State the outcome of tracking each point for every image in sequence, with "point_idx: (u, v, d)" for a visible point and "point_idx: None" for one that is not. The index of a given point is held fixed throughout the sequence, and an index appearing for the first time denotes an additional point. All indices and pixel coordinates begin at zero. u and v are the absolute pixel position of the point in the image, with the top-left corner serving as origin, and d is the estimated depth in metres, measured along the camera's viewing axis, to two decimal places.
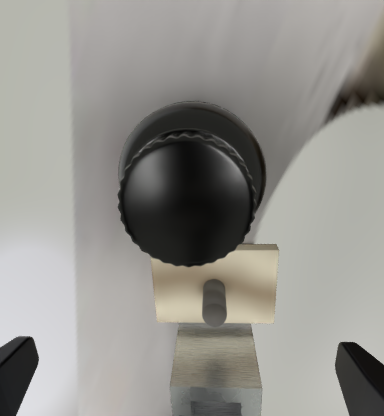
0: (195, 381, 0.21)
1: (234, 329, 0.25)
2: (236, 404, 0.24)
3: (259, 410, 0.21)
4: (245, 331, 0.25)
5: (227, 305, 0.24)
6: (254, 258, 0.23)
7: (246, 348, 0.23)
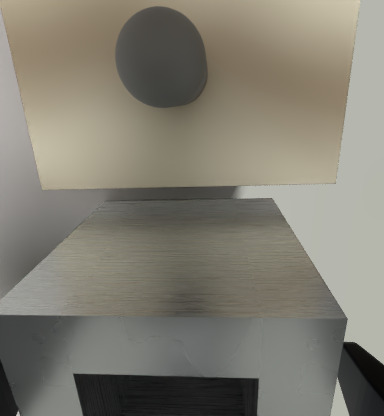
0: (88, 300, 0.06)
1: (233, 206, 0.10)
2: (239, 392, 0.09)
3: (325, 407, 0.06)
4: (261, 208, 0.10)
5: (215, 130, 0.09)
6: None
7: (268, 231, 0.08)
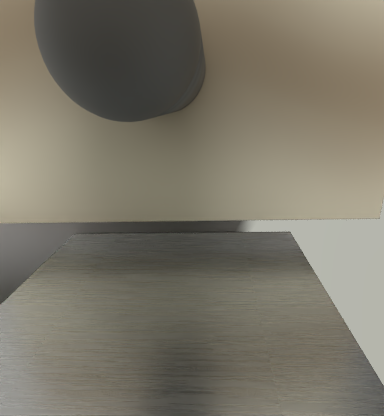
0: None
1: (240, 246, 0.08)
2: None
3: None
4: (278, 249, 0.07)
5: (215, 146, 0.07)
6: None
7: (293, 295, 0.06)
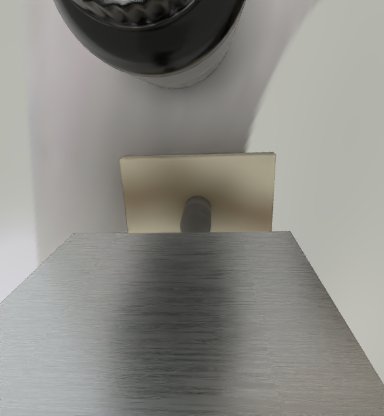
0: None
1: (240, 246, 0.08)
2: None
3: None
4: (278, 249, 0.07)
5: (214, 231, 0.20)
6: (246, 166, 0.18)
7: (293, 295, 0.06)
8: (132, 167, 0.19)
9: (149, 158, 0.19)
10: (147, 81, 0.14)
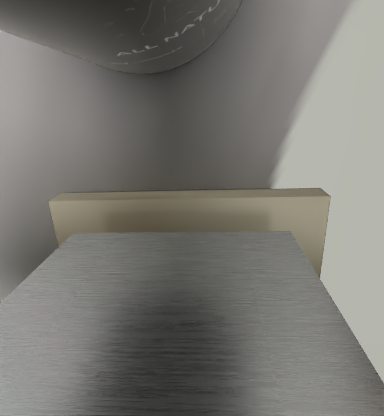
0: None
1: (240, 245, 0.08)
2: None
3: None
4: (278, 249, 0.07)
5: None
6: (274, 216, 0.10)
7: (293, 294, 0.06)
8: (72, 215, 0.11)
9: (101, 200, 0.11)
10: (52, 48, 0.05)
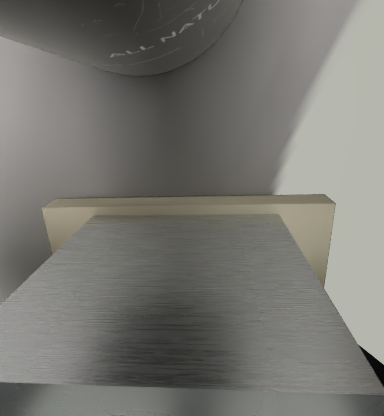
0: (57, 358, 0.04)
1: (236, 224, 0.09)
2: None
3: None
4: (267, 227, 0.09)
5: None
6: None
7: (277, 258, 0.07)
8: (66, 222, 0.10)
9: (97, 207, 0.10)
10: (39, 48, 0.05)
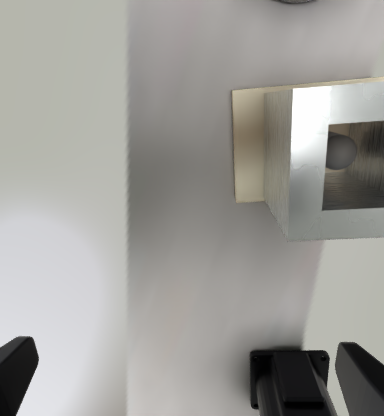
0: None
1: None
2: (376, 189, 0.15)
3: None
4: None
5: (333, 169, 0.18)
6: None
7: None
8: (246, 99, 0.17)
9: (266, 87, 0.17)
10: None
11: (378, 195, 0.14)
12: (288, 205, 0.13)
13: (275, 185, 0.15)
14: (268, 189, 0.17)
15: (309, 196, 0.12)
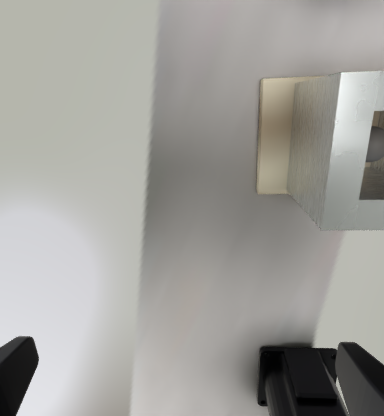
0: None
1: None
2: None
3: None
4: None
5: None
6: None
7: None
8: (276, 88, 0.17)
9: (297, 77, 0.17)
10: None
11: None
12: (325, 193, 0.12)
13: (306, 175, 0.15)
14: (294, 180, 0.17)
15: (348, 184, 0.12)
